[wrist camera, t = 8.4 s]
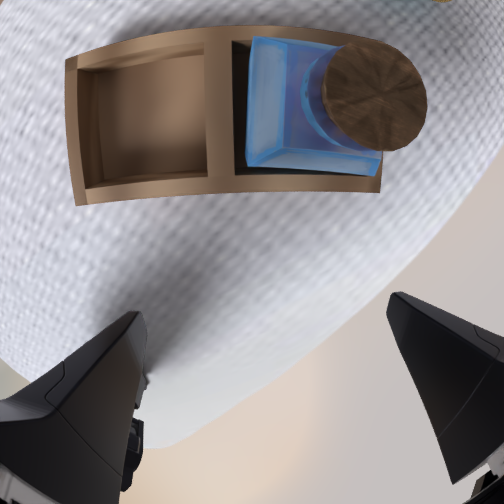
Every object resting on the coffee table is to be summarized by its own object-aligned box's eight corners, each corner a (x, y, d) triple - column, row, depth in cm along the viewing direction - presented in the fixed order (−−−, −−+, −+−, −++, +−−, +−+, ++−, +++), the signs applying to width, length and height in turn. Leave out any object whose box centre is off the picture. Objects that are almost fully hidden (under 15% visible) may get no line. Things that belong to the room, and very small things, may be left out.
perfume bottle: (340, 74, 15) (460, 35, 5) (334, 159, 18) (448, 214, 7) (248, 63, 15) (266, -25, 4) (244, 153, 18) (256, 199, 7)
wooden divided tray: (100, 190, 19) (75, 206, 16) (92, 67, 15) (65, 59, 11) (356, 179, 20) (379, 192, 16) (357, 53, 15) (381, 41, 12)
